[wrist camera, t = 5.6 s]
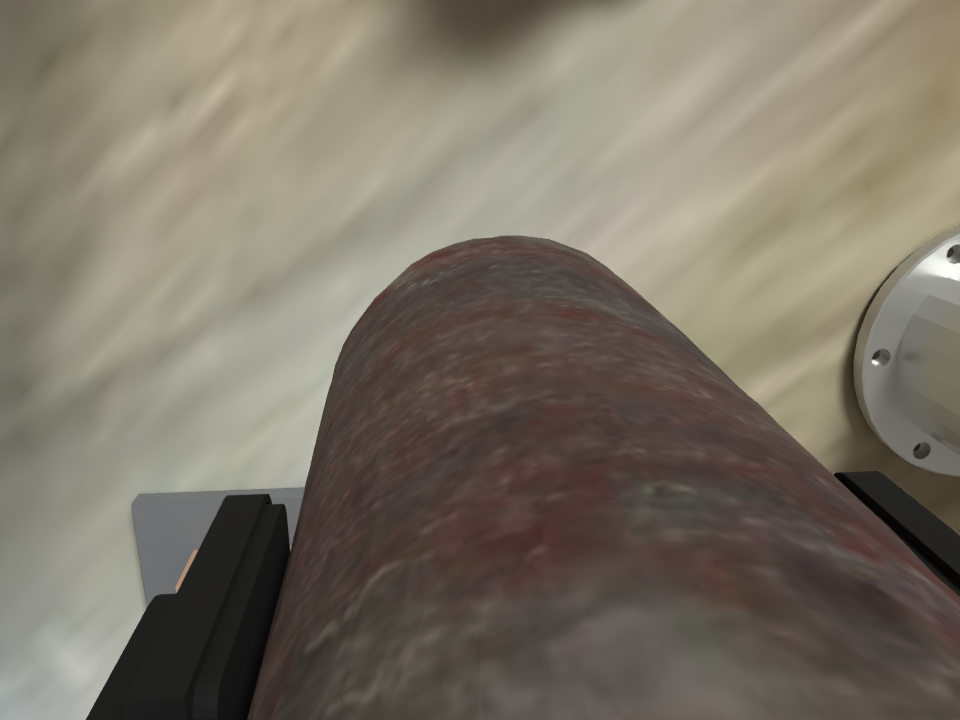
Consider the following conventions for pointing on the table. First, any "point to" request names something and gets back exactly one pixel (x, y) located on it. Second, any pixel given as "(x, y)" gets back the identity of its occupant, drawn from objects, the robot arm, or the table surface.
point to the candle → (580, 526)
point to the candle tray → (187, 530)
